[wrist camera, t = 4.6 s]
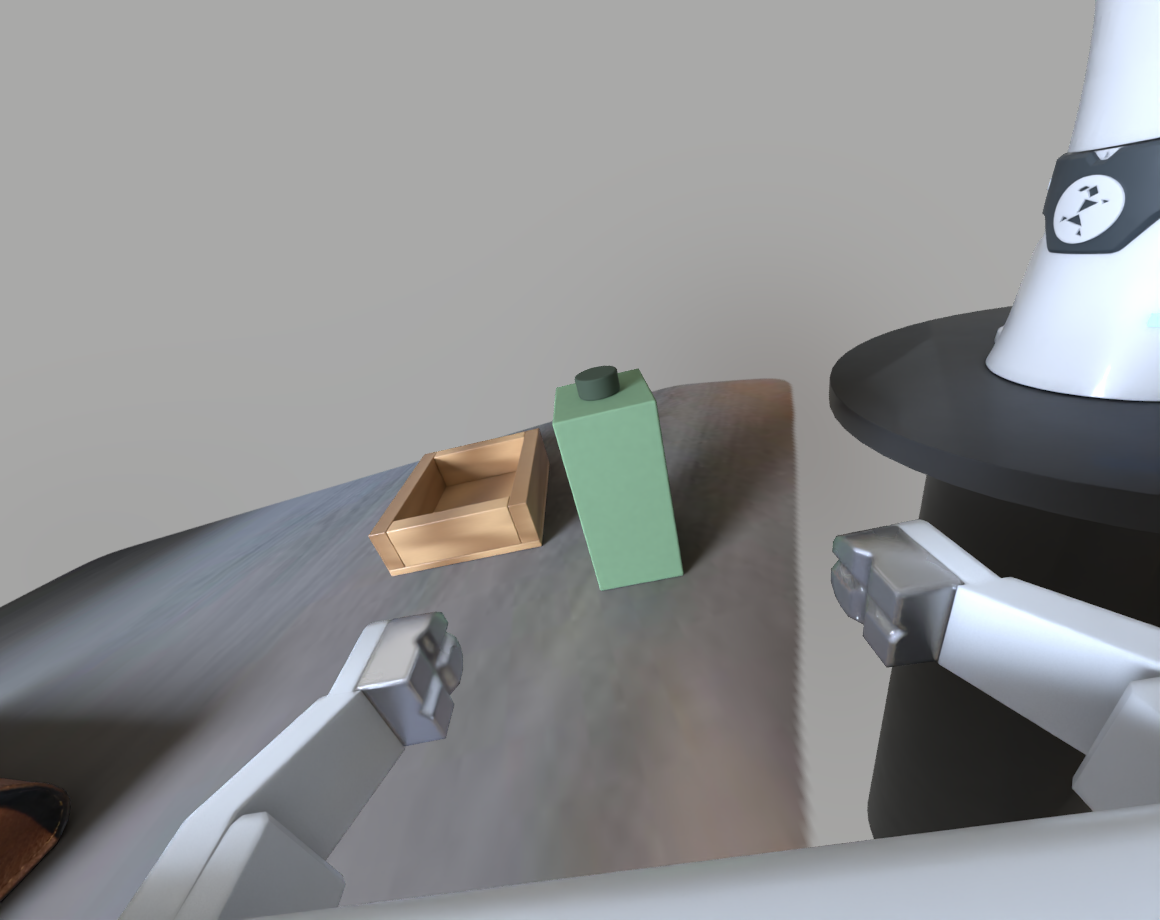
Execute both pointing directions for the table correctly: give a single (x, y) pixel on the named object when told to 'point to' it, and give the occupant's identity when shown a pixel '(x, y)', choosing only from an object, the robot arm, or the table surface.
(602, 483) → the green carton with cap
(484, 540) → the wooden tray
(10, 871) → the sunglasses case
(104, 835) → the table surface
